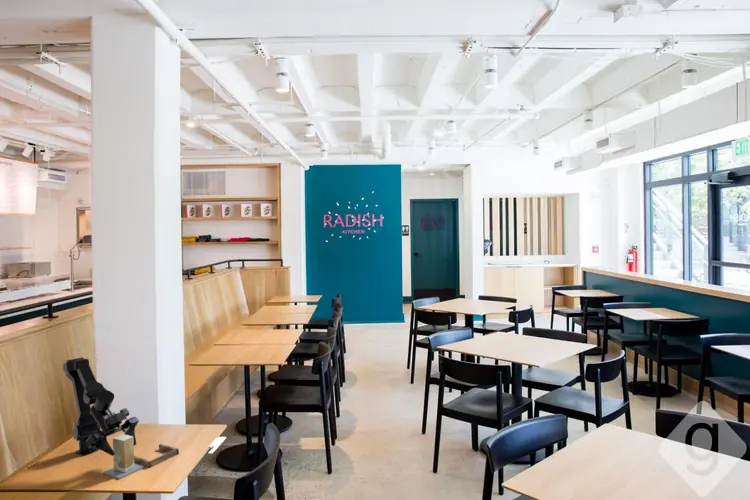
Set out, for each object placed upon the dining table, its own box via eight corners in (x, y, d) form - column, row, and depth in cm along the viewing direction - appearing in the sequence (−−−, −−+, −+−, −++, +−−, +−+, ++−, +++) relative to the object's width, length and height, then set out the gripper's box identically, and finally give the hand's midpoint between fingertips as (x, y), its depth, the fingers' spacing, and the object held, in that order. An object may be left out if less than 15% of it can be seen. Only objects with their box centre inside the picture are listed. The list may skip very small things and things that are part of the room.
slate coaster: (103, 473, 185) (103, 471, 185) (128, 462, 193) (128, 460, 193) (119, 479, 180) (119, 477, 180) (144, 467, 188) (144, 466, 188)
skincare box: (113, 470, 186) (111, 437, 186) (123, 464, 190) (121, 433, 189) (125, 473, 183) (123, 440, 183) (135, 467, 187) (133, 435, 187)
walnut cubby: (132, 461, 194) (131, 456, 194) (161, 448, 205) (160, 443, 205) (149, 467, 188) (149, 462, 188) (178, 453, 200) (178, 448, 199)
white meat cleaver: (199, 454, 199) (199, 452, 199) (215, 439, 214) (215, 436, 214) (212, 454, 199) (212, 451, 199) (226, 438, 214) (226, 436, 214)
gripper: (89, 412, 179) (111, 447, 175) (134, 396, 196) (155, 427, 191) (76, 430, 183) (97, 465, 178) (122, 413, 200) (142, 444, 195)
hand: (124, 449), depth 186 cm, fingers open, 9 cm apart
